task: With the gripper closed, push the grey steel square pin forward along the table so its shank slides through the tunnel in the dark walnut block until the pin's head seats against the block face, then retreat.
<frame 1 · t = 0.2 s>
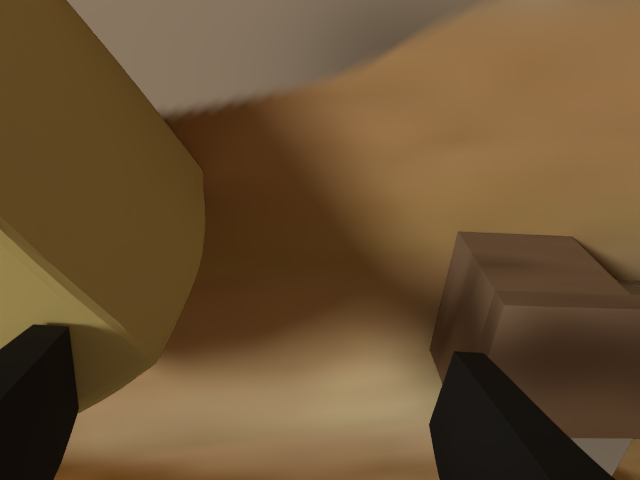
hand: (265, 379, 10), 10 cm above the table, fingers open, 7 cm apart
steel key pin: (528, 464, 28), on the table
cheese: (7, 128, 17), on the table
walnut tunnel block: (600, 299, 22), on the table
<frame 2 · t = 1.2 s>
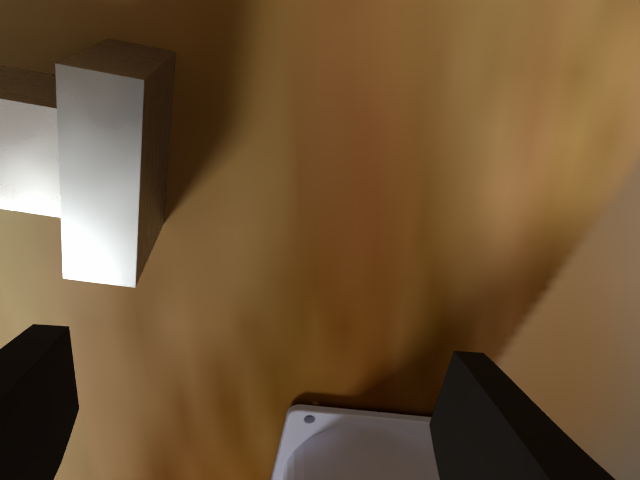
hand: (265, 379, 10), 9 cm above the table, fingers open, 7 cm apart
steel key pin: (139, 138, 17), on the table
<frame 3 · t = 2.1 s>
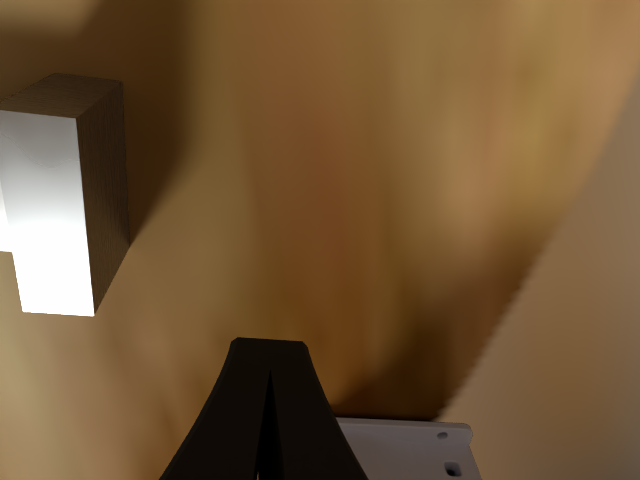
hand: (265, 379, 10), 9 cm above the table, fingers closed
steel key pin: (96, 166, 17), on the table
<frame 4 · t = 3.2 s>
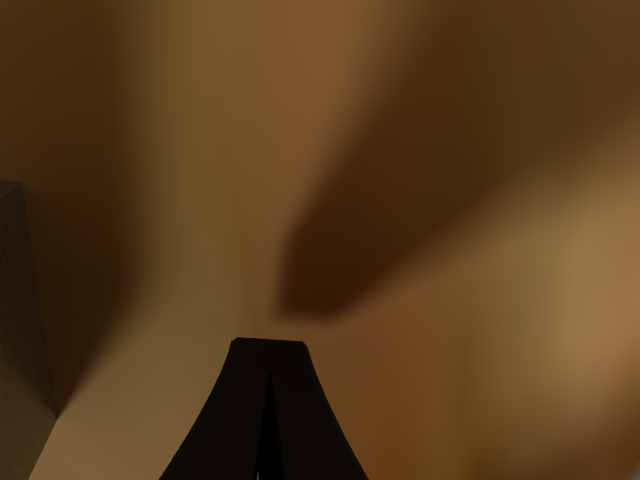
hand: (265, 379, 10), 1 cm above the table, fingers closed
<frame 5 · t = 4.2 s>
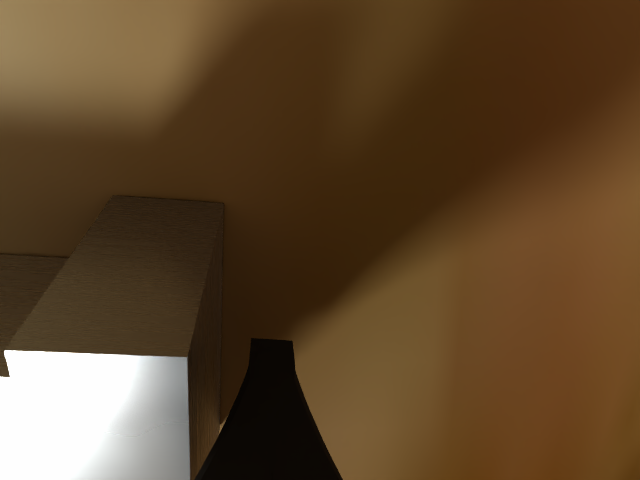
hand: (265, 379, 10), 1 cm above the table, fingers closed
steel key pin: (173, 327, 11), on the table, touching gripper
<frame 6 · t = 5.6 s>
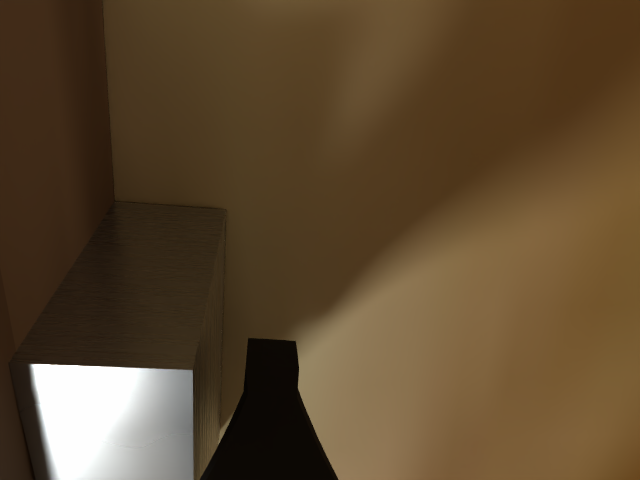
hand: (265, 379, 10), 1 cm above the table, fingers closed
steel key pin: (174, 333, 11), on the table, touching gripper, walnut tunnel block
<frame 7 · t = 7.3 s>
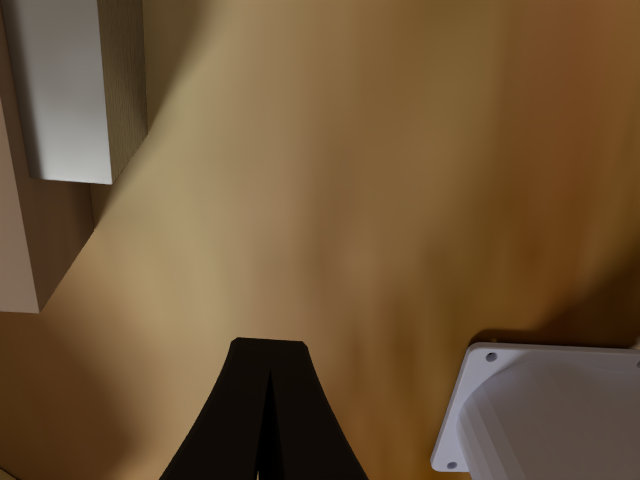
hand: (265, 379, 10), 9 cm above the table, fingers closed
steel key pin: (109, 33, 15), on the table
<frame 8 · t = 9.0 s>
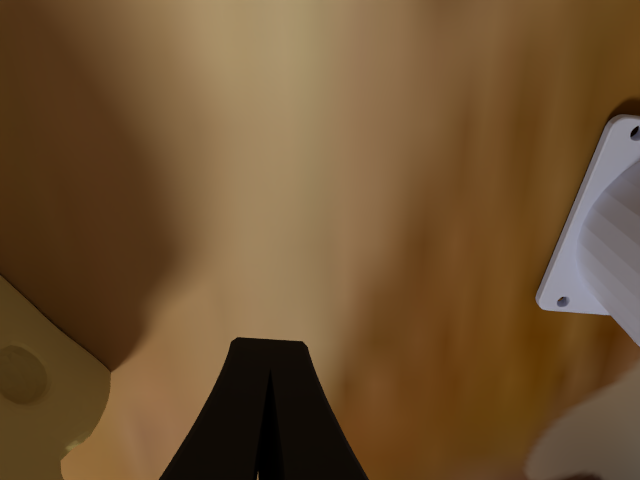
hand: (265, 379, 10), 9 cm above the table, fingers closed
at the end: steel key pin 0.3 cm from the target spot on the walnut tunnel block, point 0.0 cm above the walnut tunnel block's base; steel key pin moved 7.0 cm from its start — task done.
